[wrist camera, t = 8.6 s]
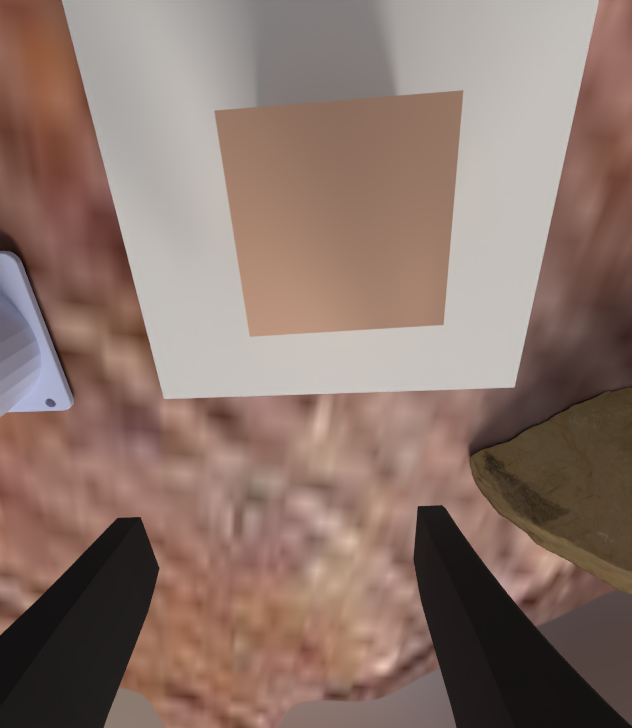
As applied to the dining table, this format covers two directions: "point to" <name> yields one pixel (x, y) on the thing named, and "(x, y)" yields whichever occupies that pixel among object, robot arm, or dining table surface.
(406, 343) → the base plinth
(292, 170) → the terracotta block
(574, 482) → the rock
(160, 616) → the dining table surface
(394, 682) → the dining table surface
